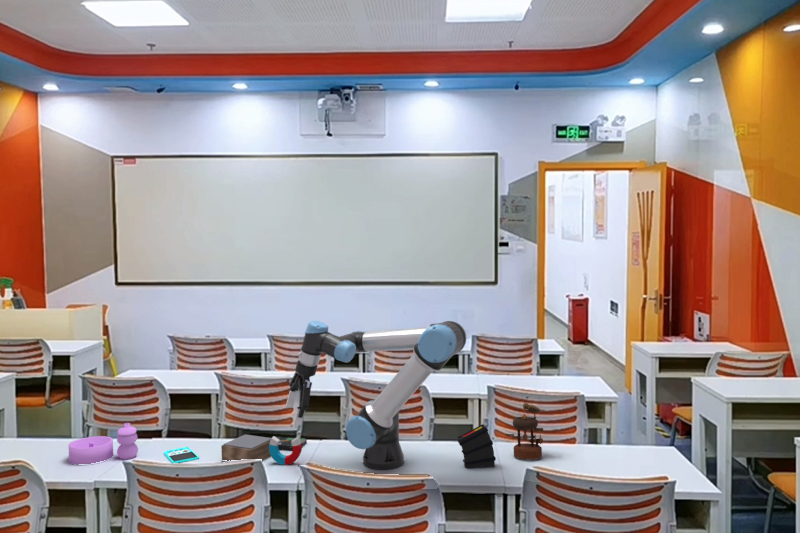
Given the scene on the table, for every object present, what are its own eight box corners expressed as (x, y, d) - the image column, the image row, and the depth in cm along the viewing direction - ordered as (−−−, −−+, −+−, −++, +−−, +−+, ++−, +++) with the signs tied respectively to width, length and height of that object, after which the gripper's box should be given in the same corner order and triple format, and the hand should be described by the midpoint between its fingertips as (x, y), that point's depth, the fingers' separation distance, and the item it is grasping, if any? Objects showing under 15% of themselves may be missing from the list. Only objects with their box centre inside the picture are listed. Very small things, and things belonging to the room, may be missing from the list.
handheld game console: (188, 449, 254) (188, 445, 254) (200, 460, 240) (200, 456, 240) (162, 454, 248) (162, 450, 248) (173, 465, 235) (173, 462, 235)
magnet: (269, 464, 233) (268, 438, 233) (271, 462, 236) (271, 435, 235) (300, 465, 232) (299, 438, 231) (302, 463, 234) (301, 436, 234)
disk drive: (262, 451, 250) (298, 452, 248) (262, 444, 250) (298, 445, 247) (273, 443, 261) (307, 444, 258) (272, 436, 261) (306, 437, 258)
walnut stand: (274, 454, 244) (274, 438, 244) (252, 466, 231) (251, 448, 231) (245, 450, 250) (245, 433, 250) (221, 461, 237) (221, 444, 237)
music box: (541, 451, 244) (541, 400, 243) (549, 461, 233) (549, 407, 232) (502, 452, 243) (502, 401, 242) (508, 462, 232) (508, 408, 231)
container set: (61, 466, 235) (60, 431, 234) (79, 452, 250) (78, 419, 249) (130, 464, 236) (129, 429, 236) (144, 450, 251) (143, 418, 251)
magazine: (504, 462, 227) (486, 426, 226) (471, 479, 226) (453, 443, 225) (501, 459, 231) (483, 423, 230) (469, 475, 230) (451, 440, 229)
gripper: (290, 348, 239) (276, 399, 242) (306, 375, 217) (290, 431, 220) (309, 351, 242) (295, 401, 245) (326, 378, 220) (310, 433, 223)
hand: (293, 415), depth 233 cm, fingers open, 13 cm apart
